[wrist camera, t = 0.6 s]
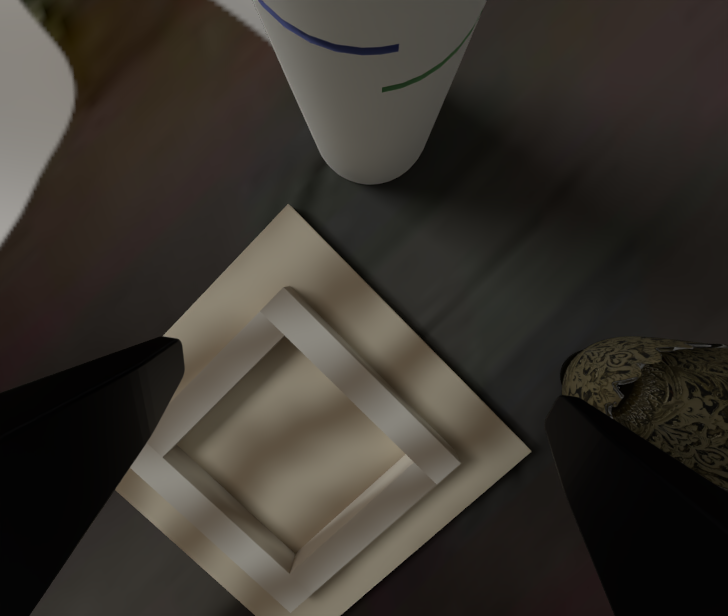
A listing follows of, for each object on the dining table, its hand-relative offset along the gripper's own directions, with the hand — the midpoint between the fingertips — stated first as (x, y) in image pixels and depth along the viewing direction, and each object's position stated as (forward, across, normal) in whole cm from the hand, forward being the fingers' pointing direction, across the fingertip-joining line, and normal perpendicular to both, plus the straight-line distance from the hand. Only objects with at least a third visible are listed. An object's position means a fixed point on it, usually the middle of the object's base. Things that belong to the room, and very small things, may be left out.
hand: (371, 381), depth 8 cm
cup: (+12, -15, +6) cm, 20 cm away
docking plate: (+10, +3, +14) cm, 17 cm away
